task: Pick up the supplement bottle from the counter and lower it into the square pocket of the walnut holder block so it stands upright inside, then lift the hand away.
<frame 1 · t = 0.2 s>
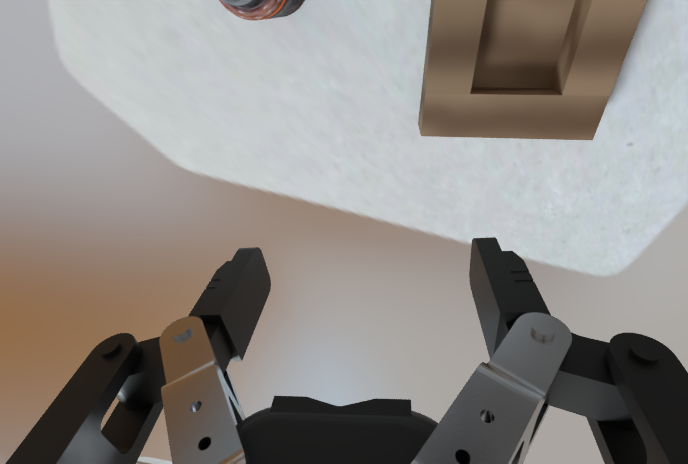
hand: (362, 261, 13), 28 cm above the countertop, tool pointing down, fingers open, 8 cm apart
walnut holder: (514, 40, 33), on the countertop
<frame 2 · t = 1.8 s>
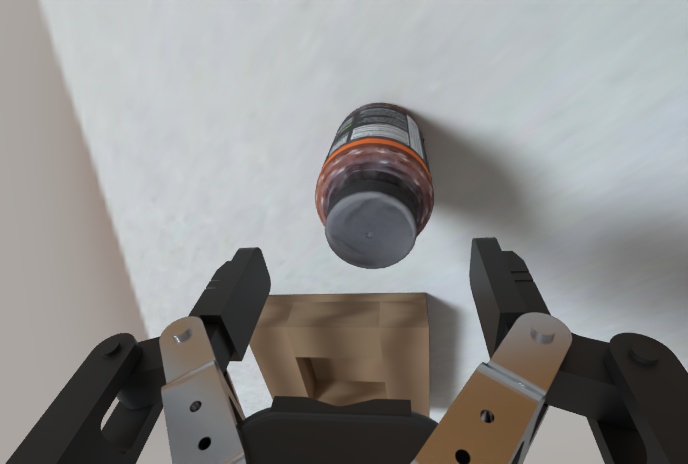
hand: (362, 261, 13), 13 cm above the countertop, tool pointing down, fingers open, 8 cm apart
supplement bottle: (379, 143, 25), on the countertop
walnut holder: (348, 349, 37), on the countertop
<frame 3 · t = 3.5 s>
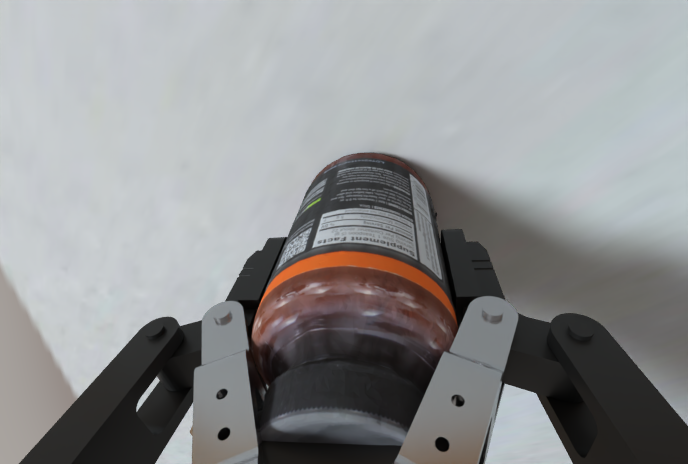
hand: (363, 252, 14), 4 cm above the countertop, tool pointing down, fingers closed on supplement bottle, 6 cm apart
supplement bottle: (368, 204, 17), on the countertop, touching gripper
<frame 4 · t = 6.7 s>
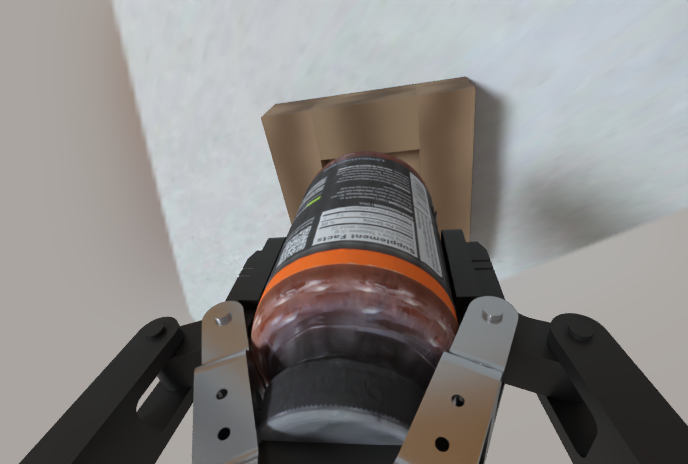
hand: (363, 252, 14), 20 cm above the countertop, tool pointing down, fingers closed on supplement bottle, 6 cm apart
supplement bottle: (368, 203, 17), point 16 cm above the countertop, touching gripper
walnut holder: (376, 178, 34), on the countertop
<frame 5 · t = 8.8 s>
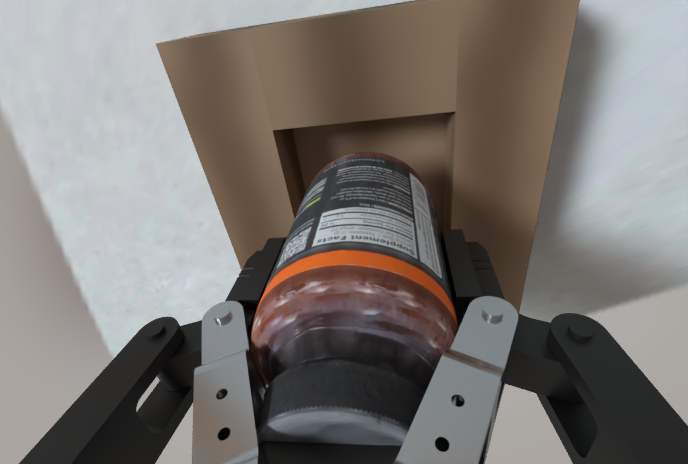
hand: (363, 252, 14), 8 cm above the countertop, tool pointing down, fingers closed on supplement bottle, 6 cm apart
supplement bottle: (368, 204, 17), point 4 cm above the countertop, touching gripper
walnut holder: (372, 168, 21), on the countertop
when the fingers open (5 cm above the countertop, at t = 10.2 s): supplement bottle stays where it is, resting on walnut holder.
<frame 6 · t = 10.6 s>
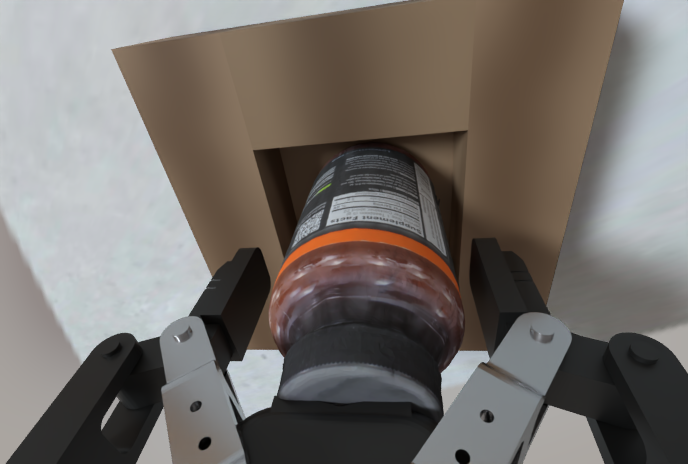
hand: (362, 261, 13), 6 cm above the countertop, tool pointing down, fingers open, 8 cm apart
supplement bottle: (373, 193, 18), point 1 cm above the countertop, touching walnut holder
walnut holder: (370, 188, 18), on the countertop
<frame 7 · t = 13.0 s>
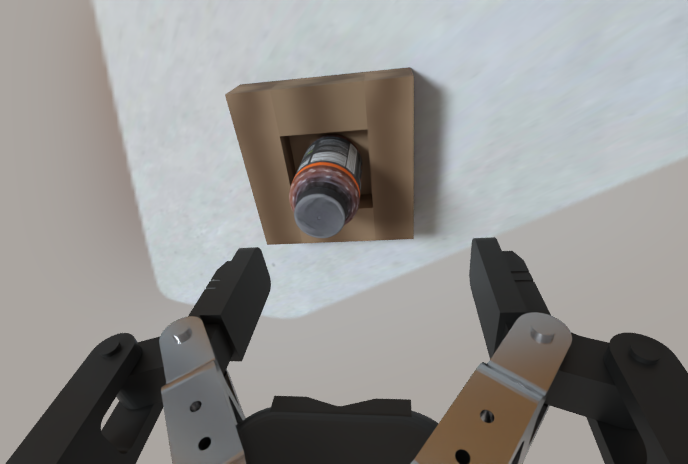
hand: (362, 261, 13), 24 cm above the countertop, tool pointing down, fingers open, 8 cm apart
supplement bottle: (334, 159, 36), point 1 cm above the countertop, touching walnut holder
walnut holder: (333, 157, 37), on the countertop
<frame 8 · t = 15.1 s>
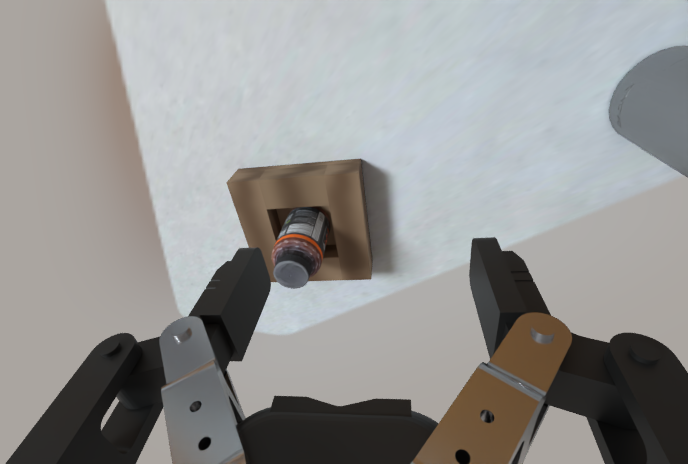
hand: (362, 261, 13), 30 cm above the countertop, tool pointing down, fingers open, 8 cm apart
supplement bottle: (309, 220, 48), point 1 cm above the countertop, touching walnut holder
walnut holder: (309, 217, 49), on the countertop
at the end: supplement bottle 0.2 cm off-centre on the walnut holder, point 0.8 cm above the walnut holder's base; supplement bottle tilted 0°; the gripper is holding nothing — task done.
